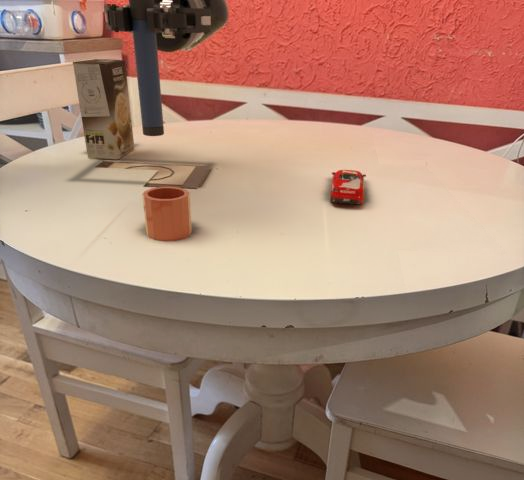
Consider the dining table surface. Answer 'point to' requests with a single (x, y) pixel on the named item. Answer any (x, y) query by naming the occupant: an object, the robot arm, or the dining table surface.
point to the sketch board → (166, 173)
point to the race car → (347, 187)
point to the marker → (147, 69)
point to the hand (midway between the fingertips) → (135, 20)
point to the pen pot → (167, 213)
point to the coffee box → (104, 107)
